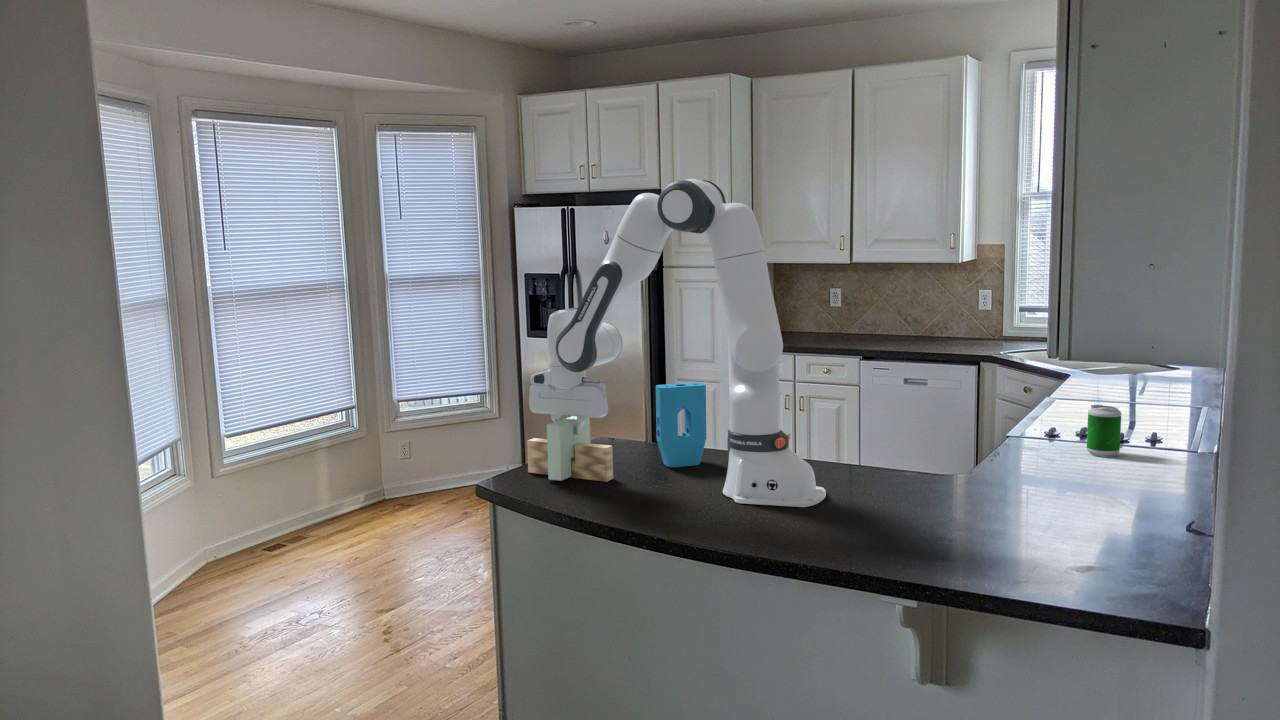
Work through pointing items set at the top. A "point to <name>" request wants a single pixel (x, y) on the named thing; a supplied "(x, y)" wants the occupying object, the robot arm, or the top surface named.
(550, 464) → the sage plate
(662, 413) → the block
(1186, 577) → the top surface
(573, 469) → the oak board
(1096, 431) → the soda can
